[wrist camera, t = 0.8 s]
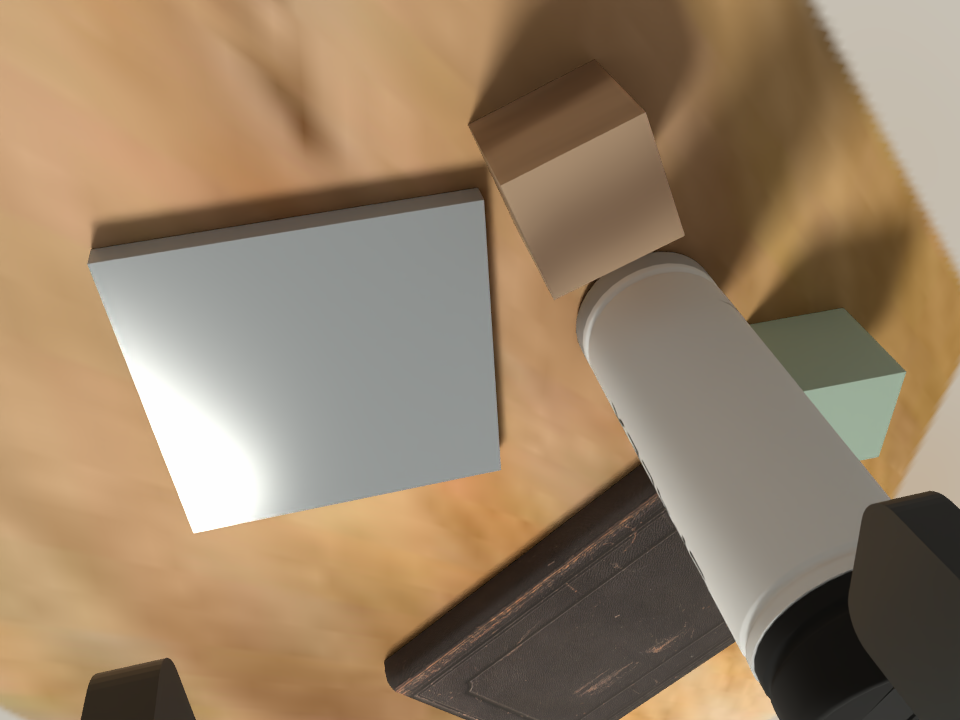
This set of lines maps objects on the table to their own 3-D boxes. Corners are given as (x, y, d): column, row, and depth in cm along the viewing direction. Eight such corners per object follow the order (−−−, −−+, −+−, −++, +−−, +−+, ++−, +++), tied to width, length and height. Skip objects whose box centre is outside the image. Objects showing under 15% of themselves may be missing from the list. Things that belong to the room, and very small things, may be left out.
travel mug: (737, 251, 37) (1093, 651, 22) (677, 374, 41) (947, 791, 26) (606, 231, 35) (899, 657, 20) (555, 362, 39) (769, 809, 23)
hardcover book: (838, 529, 53) (860, 558, 51) (551, 726, 59) (561, 758, 57) (704, 404, 43) (724, 435, 42) (381, 653, 50) (387, 689, 48)
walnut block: (467, 123, 31) (500, 185, 28) (594, 58, 31) (645, 111, 27) (517, 231, 35) (554, 299, 31) (633, 173, 34) (684, 235, 30)
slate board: (90, 249, 31) (87, 264, 30) (477, 187, 33) (483, 199, 32) (194, 516, 40) (193, 533, 39) (495, 455, 42) (500, 469, 41)
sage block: (742, 324, 40) (796, 392, 36) (842, 306, 41) (906, 371, 37) (728, 406, 43) (777, 477, 39) (821, 388, 44) (878, 456, 40)
